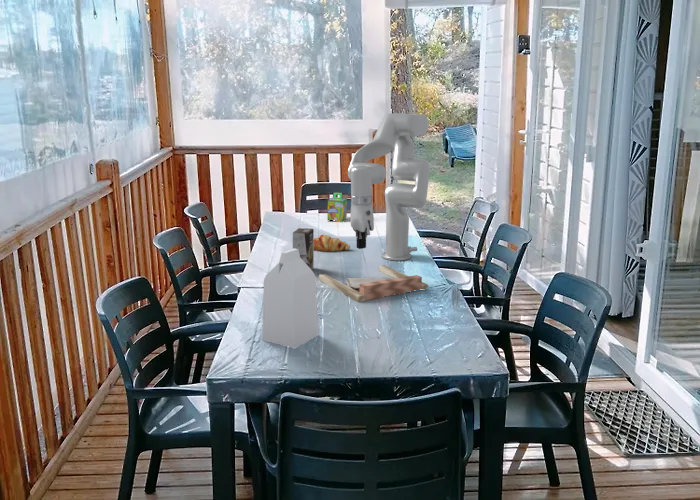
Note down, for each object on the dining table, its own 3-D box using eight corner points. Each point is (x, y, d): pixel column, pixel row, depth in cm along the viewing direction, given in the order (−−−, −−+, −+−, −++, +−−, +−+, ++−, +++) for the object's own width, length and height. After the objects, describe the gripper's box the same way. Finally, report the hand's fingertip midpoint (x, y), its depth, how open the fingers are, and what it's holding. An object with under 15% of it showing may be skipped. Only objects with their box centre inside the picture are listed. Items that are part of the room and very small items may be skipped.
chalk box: (327, 221, 350) (327, 194, 347) (330, 218, 359) (330, 191, 356) (344, 222, 349) (344, 194, 345) (347, 218, 358) (347, 192, 354)
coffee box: (308, 274, 253) (308, 233, 249) (292, 272, 255) (291, 232, 251) (314, 267, 262) (314, 228, 258) (298, 266, 263) (298, 227, 259)
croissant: (350, 256, 294) (352, 239, 295) (348, 251, 284) (350, 233, 286) (304, 253, 296) (306, 236, 298) (300, 248, 286) (302, 230, 288)
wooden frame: (384, 270, 260) (384, 257, 259) (427, 289, 236) (428, 276, 234) (319, 279, 246) (319, 267, 245) (358, 302, 221) (358, 287, 220)
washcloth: (344, 284, 243) (344, 276, 242) (391, 283, 245) (392, 275, 244) (348, 294, 231) (348, 286, 230) (398, 293, 233) (398, 284, 233)
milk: (294, 348, 182) (293, 258, 175) (262, 340, 188) (260, 252, 181) (319, 335, 192) (319, 249, 185) (287, 327, 198) (286, 243, 191)
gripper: (380, 202, 237) (380, 251, 242) (359, 195, 249) (359, 242, 254) (362, 204, 233) (362, 254, 238) (342, 197, 245) (342, 244, 251)
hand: (361, 247), depth 246 cm, fingers closed
